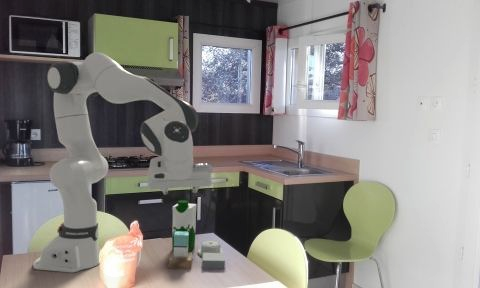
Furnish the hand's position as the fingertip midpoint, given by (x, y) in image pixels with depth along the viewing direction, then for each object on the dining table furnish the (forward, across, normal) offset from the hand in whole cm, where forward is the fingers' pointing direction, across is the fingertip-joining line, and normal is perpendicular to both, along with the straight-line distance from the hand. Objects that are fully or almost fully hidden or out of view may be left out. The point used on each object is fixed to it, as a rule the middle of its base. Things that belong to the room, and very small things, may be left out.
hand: (180, 191), depth 142 cm
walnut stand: (+31, +1, +10) cm, 33 cm away
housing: (+29, +1, +8) cm, 30 cm away
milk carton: (+43, 0, -2) cm, 43 cm away
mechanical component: (+40, -10, +3) cm, 41 cm away
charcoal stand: (+31, -11, +12) cm, 35 cm away
